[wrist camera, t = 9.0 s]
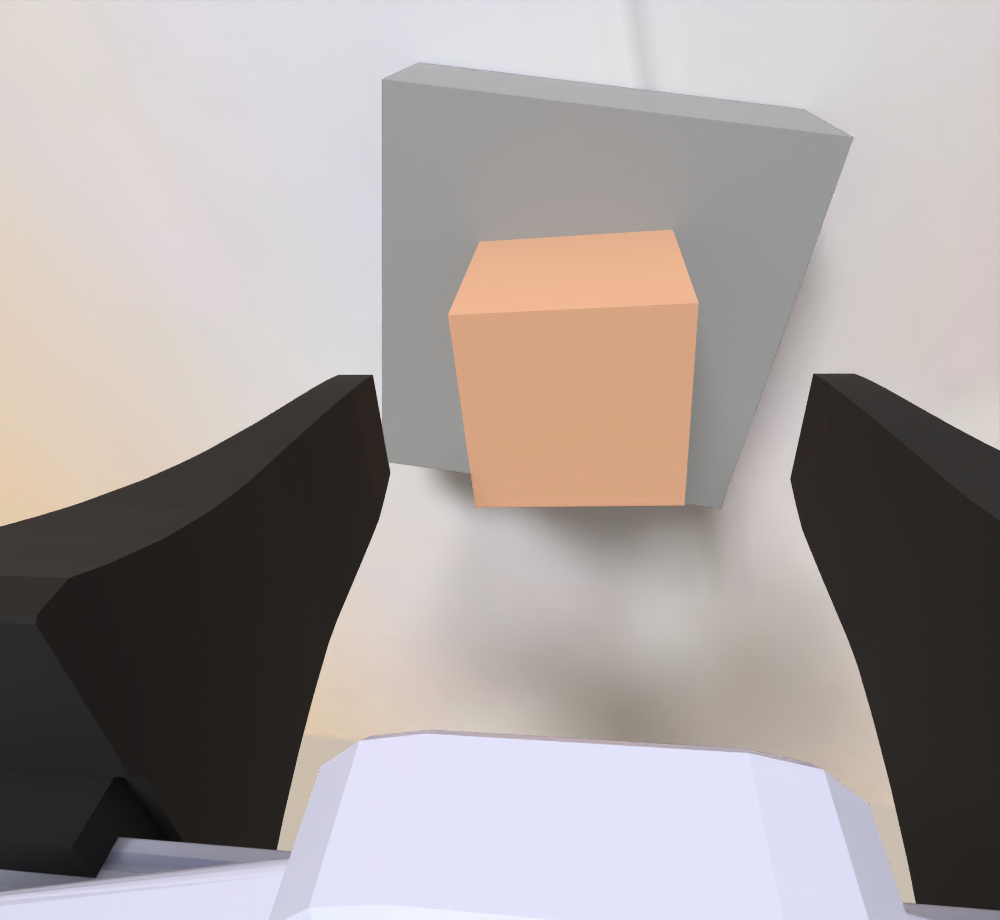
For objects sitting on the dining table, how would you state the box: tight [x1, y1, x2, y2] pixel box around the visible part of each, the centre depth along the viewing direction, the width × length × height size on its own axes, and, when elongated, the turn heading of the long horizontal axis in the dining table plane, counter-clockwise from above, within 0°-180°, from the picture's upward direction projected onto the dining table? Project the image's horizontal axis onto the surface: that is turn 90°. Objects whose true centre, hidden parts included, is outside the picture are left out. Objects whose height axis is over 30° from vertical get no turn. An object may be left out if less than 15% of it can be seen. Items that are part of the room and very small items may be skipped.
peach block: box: [448, 230, 699, 507], centre depth 16 cm, size 4×4×4 cm
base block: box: [382, 63, 853, 509], centre depth 19 cm, size 10×10×4 cm
